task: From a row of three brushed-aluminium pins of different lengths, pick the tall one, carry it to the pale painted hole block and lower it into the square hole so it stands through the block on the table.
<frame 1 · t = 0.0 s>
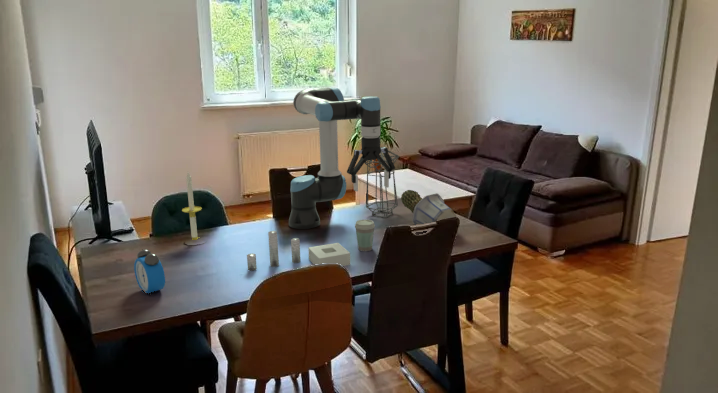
hand: (371, 188, 228), 28 cm above the table, fingers open, 13 cm apart
potted plant: (425, 228, 266), on the table
short pin: (252, 269, 221), on the table
alarm clock: (152, 291, 203), on the table
candlestick: (195, 242, 252), on the table
medium pin: (296, 261, 228), on the table
hole block: (329, 261, 227), on the table
geometric lantern: (380, 214, 287), on the table
coffee cup: (365, 249, 240), on the table
long pin: (274, 265, 224), on the table
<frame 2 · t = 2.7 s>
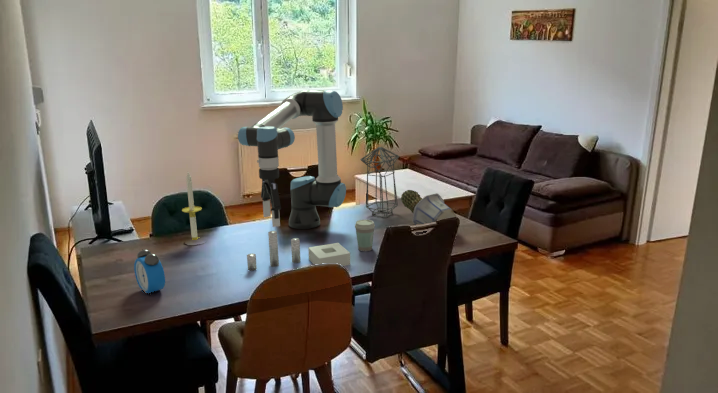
hand: (271, 221, 219), 19 cm above the table, fingers open, 13 cm apart
nothing on the table moved.
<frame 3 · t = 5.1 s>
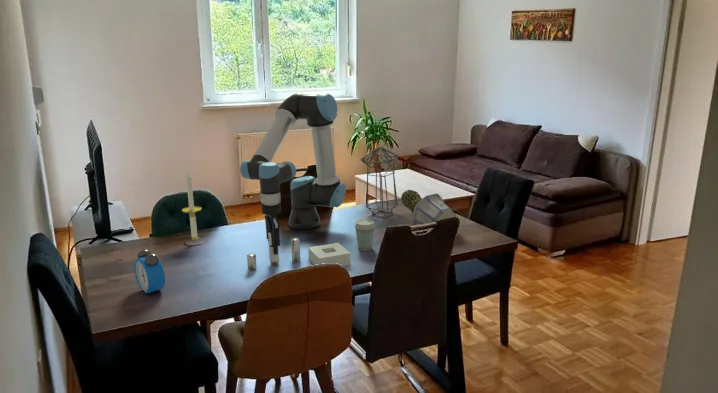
hand: (274, 259, 224), 3 cm above the table, fingers closed on long pin, 3 cm apart
long pin: (274, 265, 224), on the table, touching gripper
everything else where it was.
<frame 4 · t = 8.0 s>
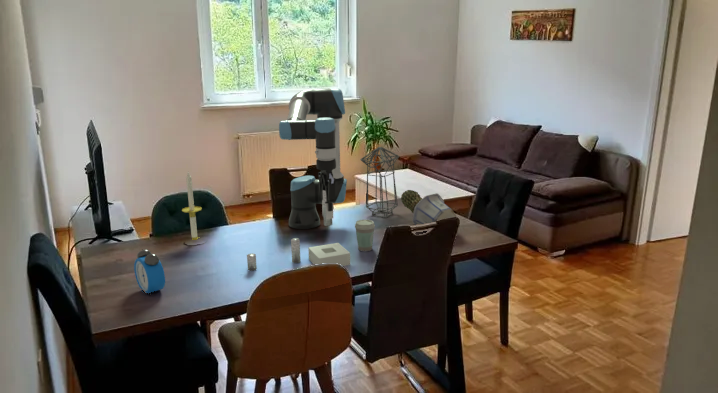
hand: (327, 216, 222), 19 cm above the table, fingers closed on long pin, 3 cm apart
long pin: (328, 224, 223), point 16 cm above the table, touching gripper
everything else where it was.
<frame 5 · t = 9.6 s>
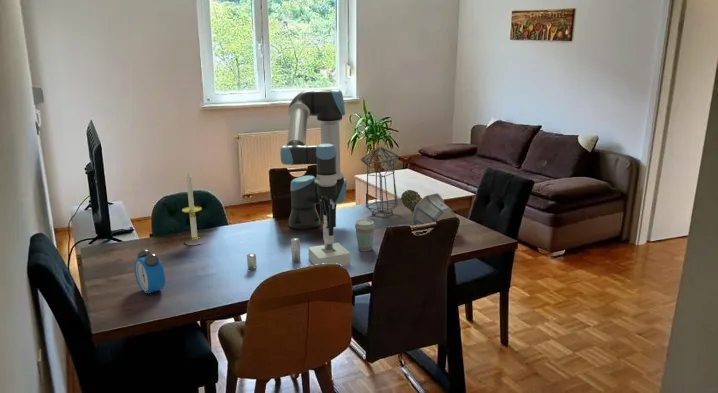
hand: (328, 241, 224), 9 cm above the table, fingers closed on long pin, 3 cm apart
long pin: (328, 248, 225), point 6 cm above the table, touching gripper
everything else where it was.
when the fingers open (7 cm above the table, at t = 10.8 s): long pin drops 3 cm, resting in hole block.
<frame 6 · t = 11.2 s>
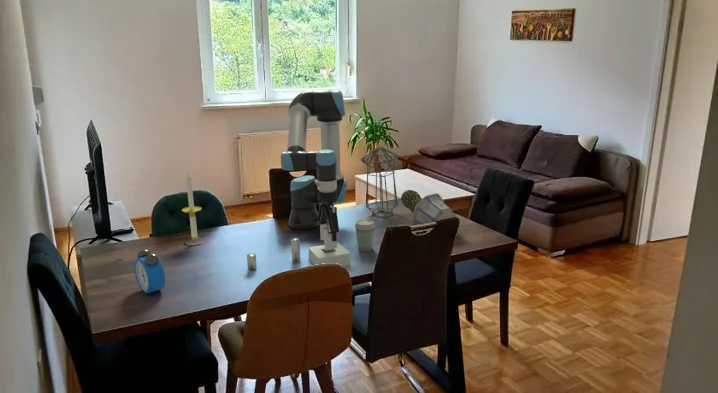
hand: (328, 243, 225), 8 cm above the table, fingers open, 10 cm apart
long pin: (329, 261, 227), resting in hole block
everything else where it was.
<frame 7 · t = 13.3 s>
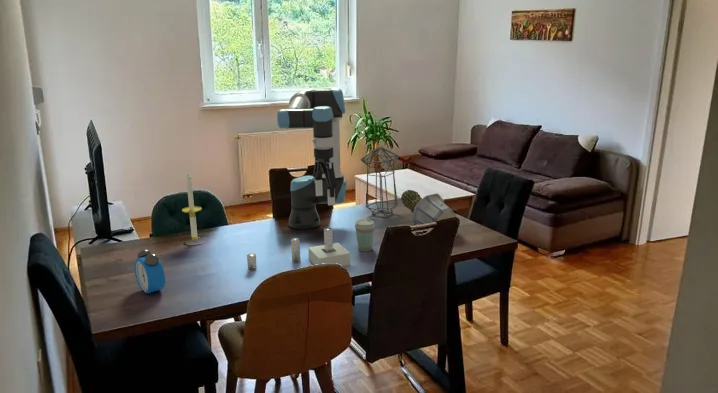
hand: (325, 200, 223), 25 cm above the table, fingers open, 13 cm apart
nothing on the table moved.
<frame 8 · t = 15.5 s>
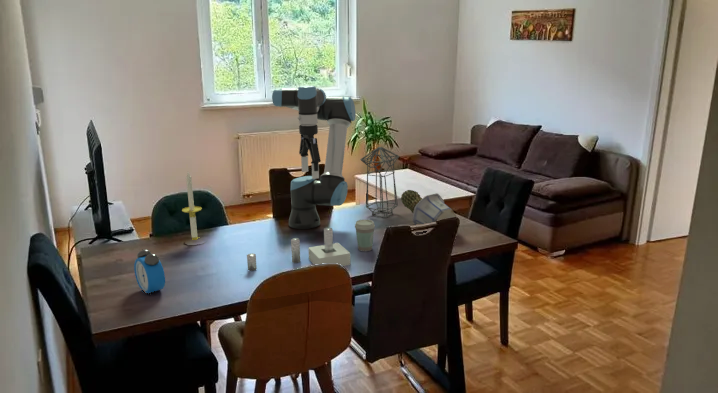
hand: (310, 175, 236), 32 cm above the table, fingers open, 13 cm apart
nothing on the table moved.
at the end: long pin 0.1 cm off-centre on the hole block, point 0.0 cm above the hole block's base; long pin tilted 0°; the gripper is holding nothing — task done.
